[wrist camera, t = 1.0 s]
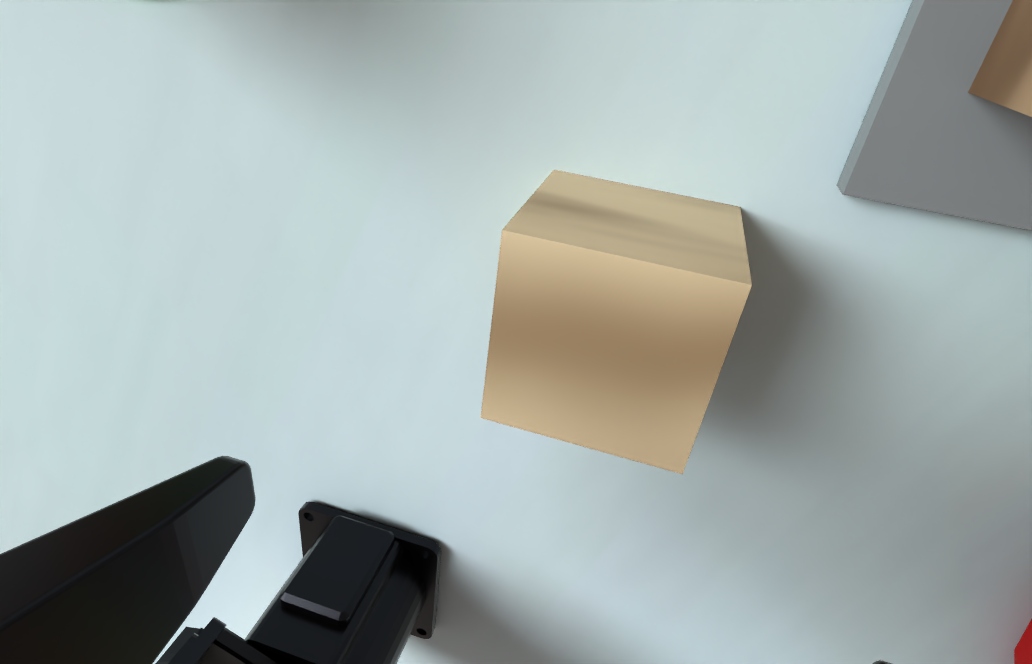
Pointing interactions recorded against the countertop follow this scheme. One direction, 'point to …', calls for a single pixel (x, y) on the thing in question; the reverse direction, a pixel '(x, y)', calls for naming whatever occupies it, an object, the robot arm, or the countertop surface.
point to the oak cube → (614, 316)
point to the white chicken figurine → (1024, 647)
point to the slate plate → (943, 123)
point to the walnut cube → (1009, 62)
